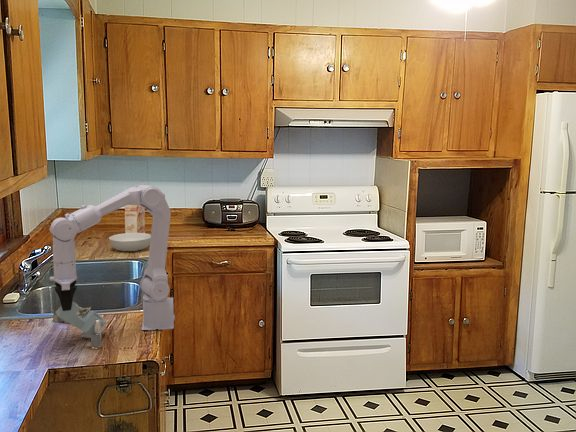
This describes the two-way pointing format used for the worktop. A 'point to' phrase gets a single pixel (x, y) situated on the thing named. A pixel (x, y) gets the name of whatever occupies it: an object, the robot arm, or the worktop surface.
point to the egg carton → (81, 313)
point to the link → (81, 323)
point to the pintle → (97, 326)
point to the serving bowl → (130, 241)
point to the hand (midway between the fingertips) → (66, 308)
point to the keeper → (92, 338)
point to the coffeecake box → (134, 219)
